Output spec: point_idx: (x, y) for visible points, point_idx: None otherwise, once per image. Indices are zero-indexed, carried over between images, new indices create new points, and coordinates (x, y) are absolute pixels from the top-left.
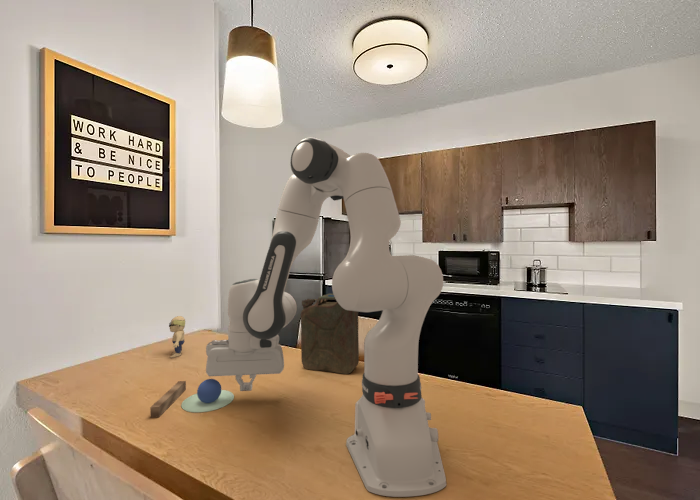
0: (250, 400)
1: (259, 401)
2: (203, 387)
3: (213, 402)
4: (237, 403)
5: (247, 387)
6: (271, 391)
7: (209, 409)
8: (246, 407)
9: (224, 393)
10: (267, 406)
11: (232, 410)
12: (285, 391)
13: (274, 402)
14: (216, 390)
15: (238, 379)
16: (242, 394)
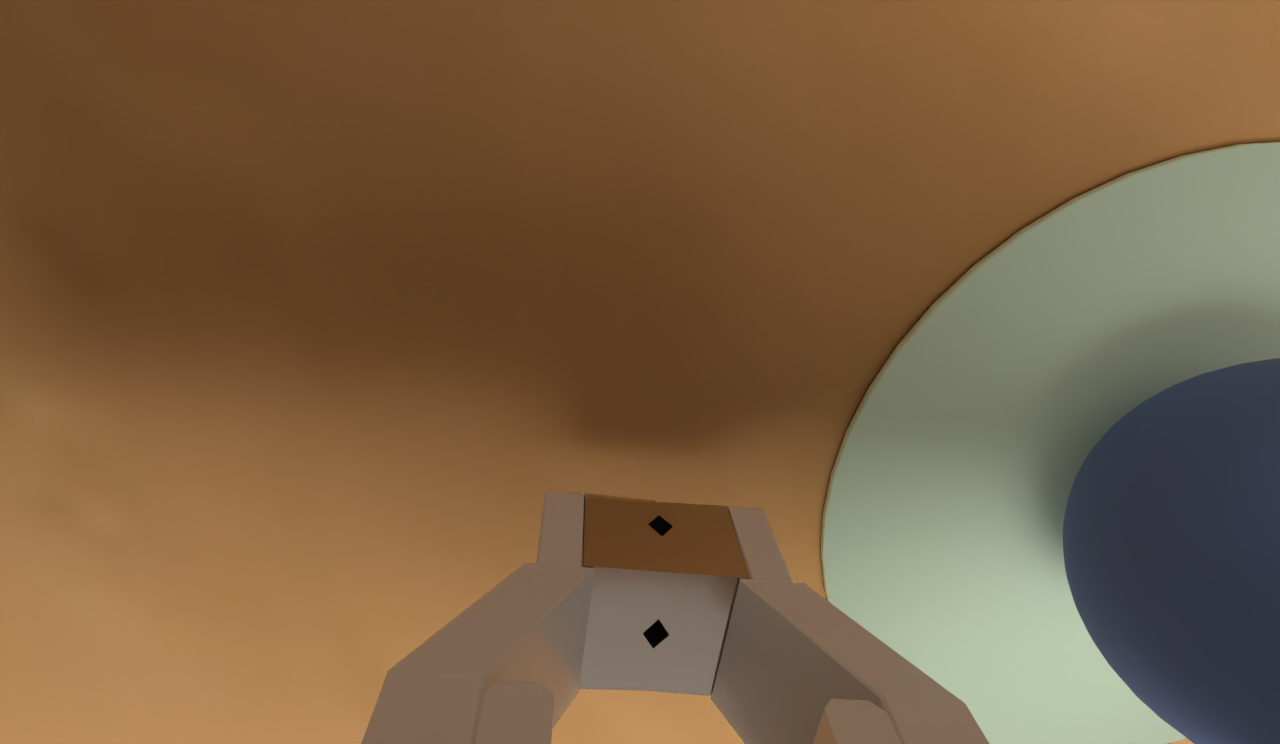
0: (566, 397)
1: (411, 332)
2: None
3: (1115, 417)
4: (763, 336)
5: (618, 530)
6: (284, 622)
7: (1201, 189)
8: (605, 150)
9: (947, 651)
10: (218, 97)
11: (838, 88)
12: (48, 590)
13: (123, 236)
14: (1270, 474)
15: (880, 687)
16: None
